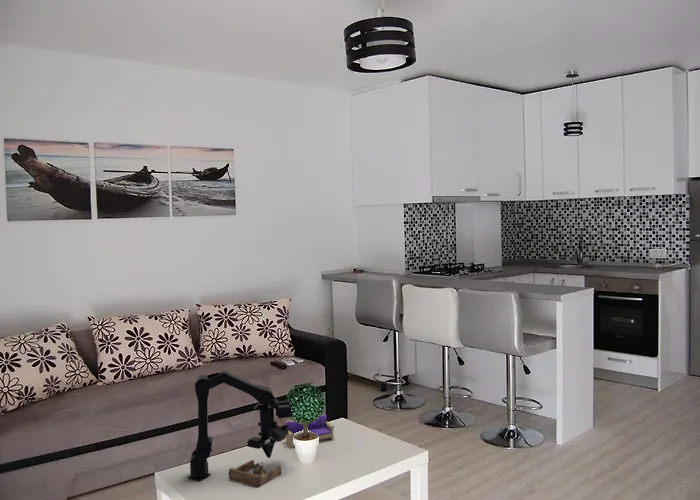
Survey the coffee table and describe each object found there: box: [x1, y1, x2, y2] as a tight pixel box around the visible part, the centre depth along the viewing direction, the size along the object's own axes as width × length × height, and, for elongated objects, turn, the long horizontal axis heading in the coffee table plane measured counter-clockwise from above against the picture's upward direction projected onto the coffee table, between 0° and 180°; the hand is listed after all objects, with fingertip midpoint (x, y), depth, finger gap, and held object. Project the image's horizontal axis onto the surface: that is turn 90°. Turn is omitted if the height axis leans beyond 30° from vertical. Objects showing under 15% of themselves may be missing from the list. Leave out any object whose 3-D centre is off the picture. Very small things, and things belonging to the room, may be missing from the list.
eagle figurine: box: [248, 461, 268, 476], centre depth 239 cm, size 8×7×9 cm
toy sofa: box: [285, 413, 335, 449], centre depth 276 cm, size 21×9×10 cm, turn 114°
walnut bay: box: [228, 459, 282, 488], centre depth 240 cm, size 14×15×4 cm
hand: (268, 457), depth 247 cm, fingers closed
